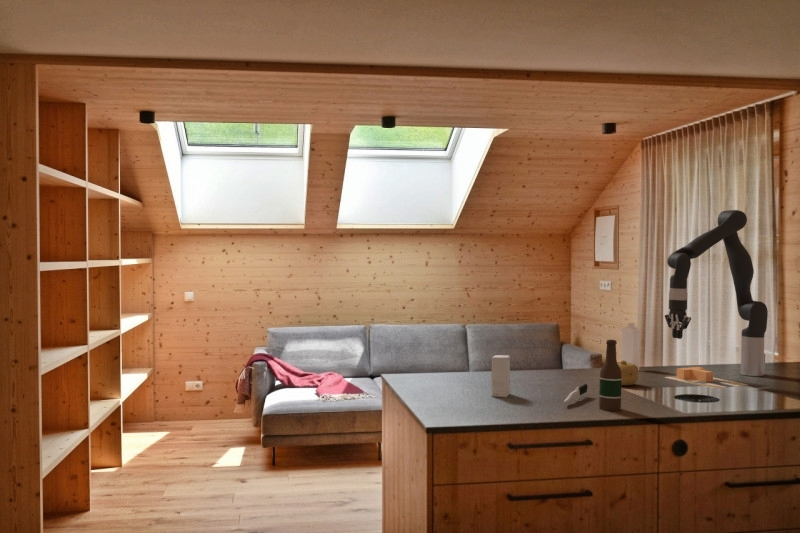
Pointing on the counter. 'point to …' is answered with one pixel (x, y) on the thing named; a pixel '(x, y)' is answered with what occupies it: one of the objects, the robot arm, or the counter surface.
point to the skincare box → (501, 375)
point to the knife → (575, 394)
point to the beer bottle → (610, 380)
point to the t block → (695, 374)
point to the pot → (628, 373)
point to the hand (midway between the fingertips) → (677, 338)
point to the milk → (630, 344)
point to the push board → (715, 384)
